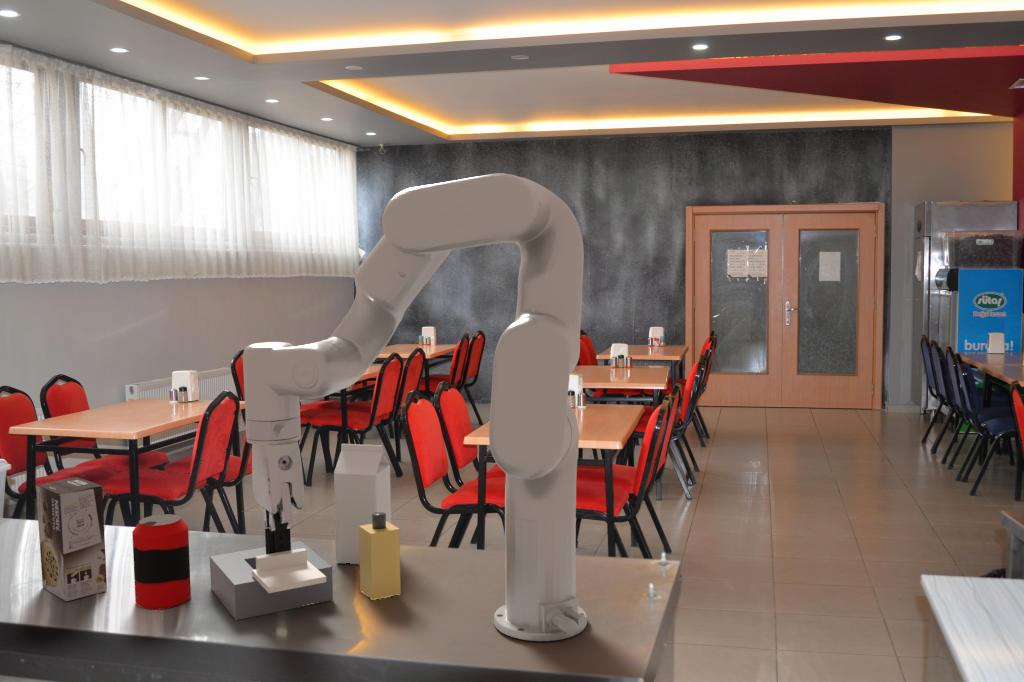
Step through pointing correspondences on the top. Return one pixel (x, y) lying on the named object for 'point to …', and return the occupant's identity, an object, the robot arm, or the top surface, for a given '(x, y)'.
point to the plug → (379, 557)
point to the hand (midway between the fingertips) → (278, 555)
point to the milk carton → (359, 495)
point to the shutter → (286, 571)
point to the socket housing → (250, 597)
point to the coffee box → (72, 538)
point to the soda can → (161, 562)
